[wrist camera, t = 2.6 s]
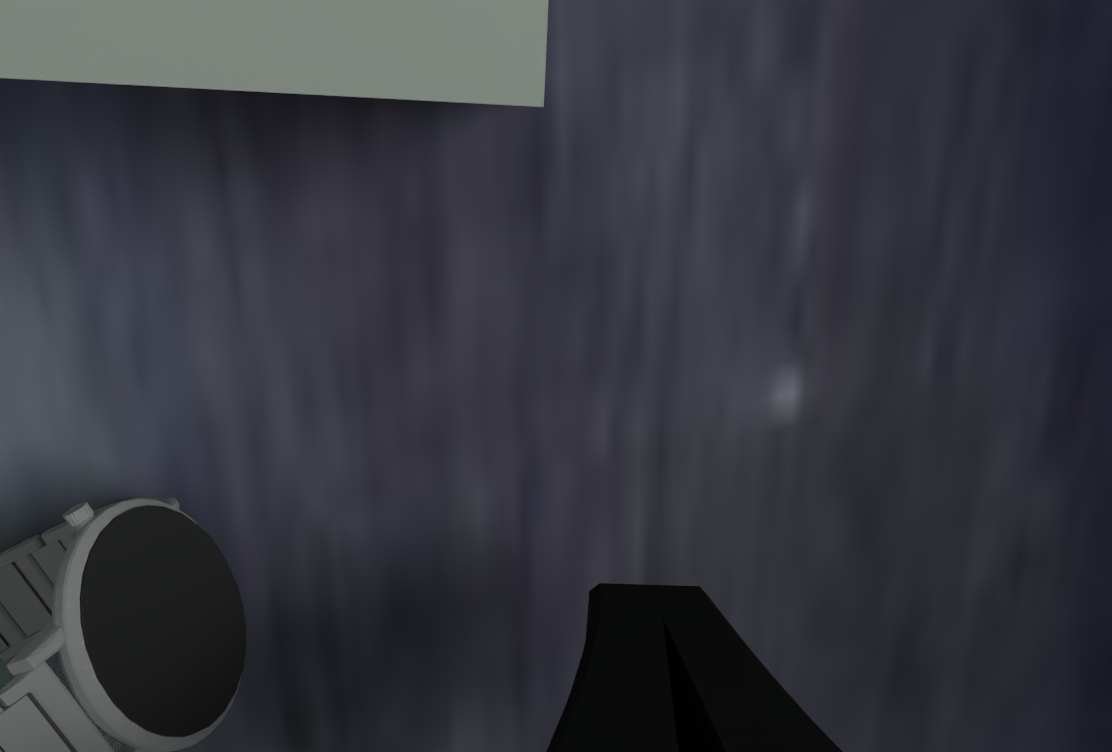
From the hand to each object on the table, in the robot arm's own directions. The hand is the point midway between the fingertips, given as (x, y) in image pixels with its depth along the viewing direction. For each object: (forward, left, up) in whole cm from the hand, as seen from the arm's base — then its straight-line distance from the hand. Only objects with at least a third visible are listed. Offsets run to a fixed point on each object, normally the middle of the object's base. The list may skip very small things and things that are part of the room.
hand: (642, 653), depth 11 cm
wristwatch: (+7, 0, -2) cm, 8 cm away
